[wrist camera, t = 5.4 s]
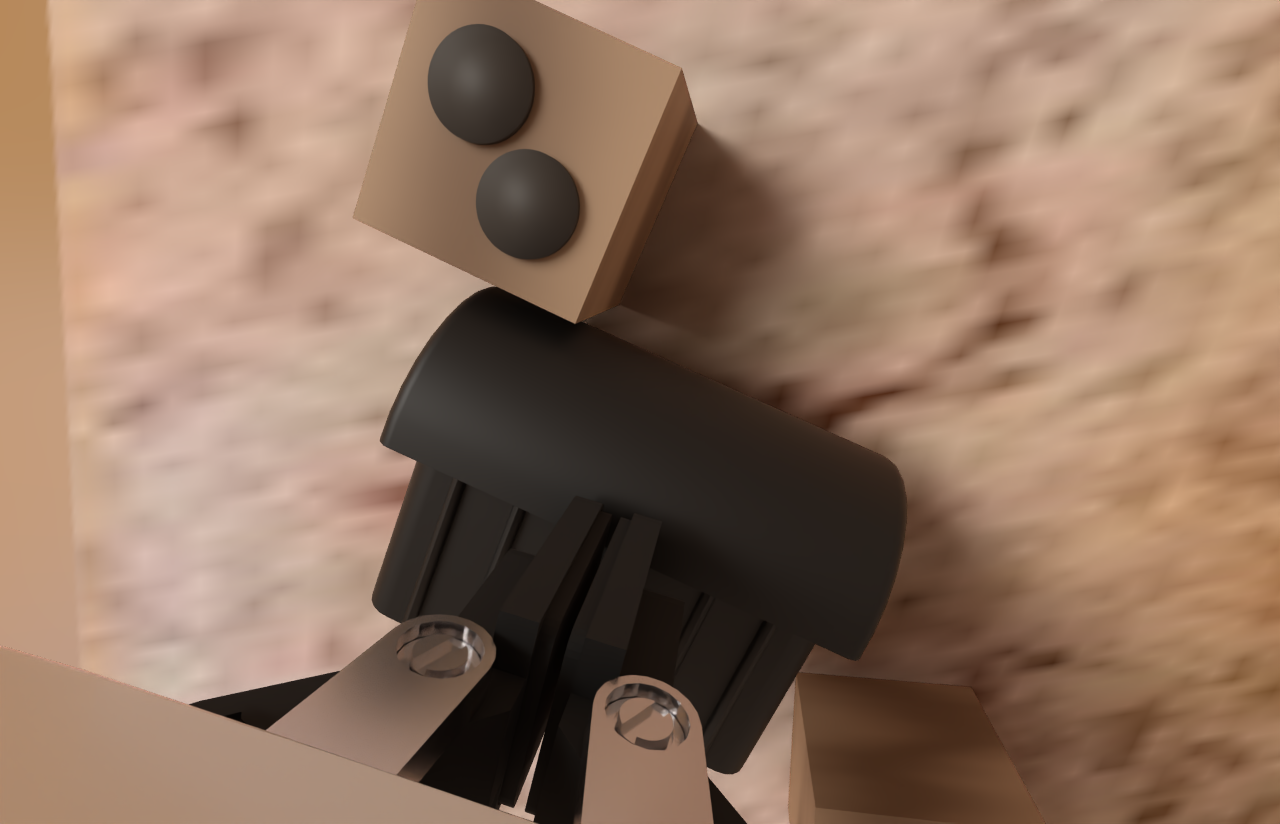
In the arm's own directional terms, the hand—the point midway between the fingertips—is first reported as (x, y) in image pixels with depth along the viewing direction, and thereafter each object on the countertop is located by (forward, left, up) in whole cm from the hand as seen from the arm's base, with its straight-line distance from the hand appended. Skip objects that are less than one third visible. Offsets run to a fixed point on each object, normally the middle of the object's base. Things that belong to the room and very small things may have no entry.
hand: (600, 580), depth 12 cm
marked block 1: (+4, -7, -7) cm, 11 cm away
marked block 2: (-9, +7, -7) cm, 13 cm away
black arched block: (0, 0, -7) cm, 7 cm away
